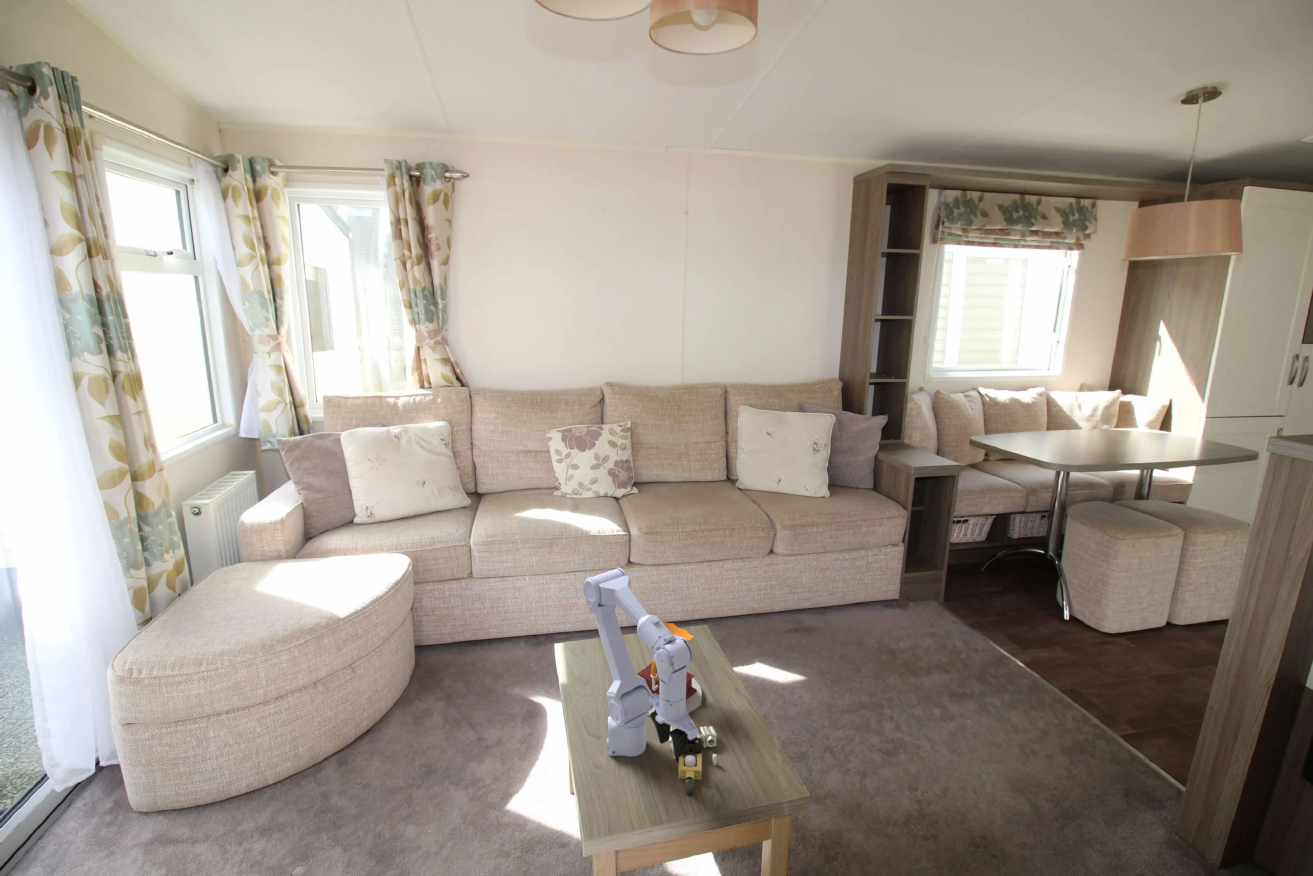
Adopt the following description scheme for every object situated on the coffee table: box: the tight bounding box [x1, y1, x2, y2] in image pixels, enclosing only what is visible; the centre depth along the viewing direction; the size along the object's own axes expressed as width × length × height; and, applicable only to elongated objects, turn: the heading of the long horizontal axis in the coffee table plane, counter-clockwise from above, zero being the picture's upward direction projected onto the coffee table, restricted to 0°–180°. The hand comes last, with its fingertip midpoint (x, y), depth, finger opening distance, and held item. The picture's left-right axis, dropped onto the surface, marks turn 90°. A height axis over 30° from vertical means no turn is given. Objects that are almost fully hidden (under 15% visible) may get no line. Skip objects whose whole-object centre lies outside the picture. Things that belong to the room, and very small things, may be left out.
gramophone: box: [636, 619, 703, 717], centre depth 162 cm, size 20×20×25 cm
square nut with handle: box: [677, 753, 703, 796], centre depth 135 cm, size 5×10×3 cm, turn 176°
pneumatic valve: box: [666, 718, 718, 762], centre depth 145 cm, size 6×12×12 cm
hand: (671, 748), depth 132 cm, fingers open, 5 cm apart
